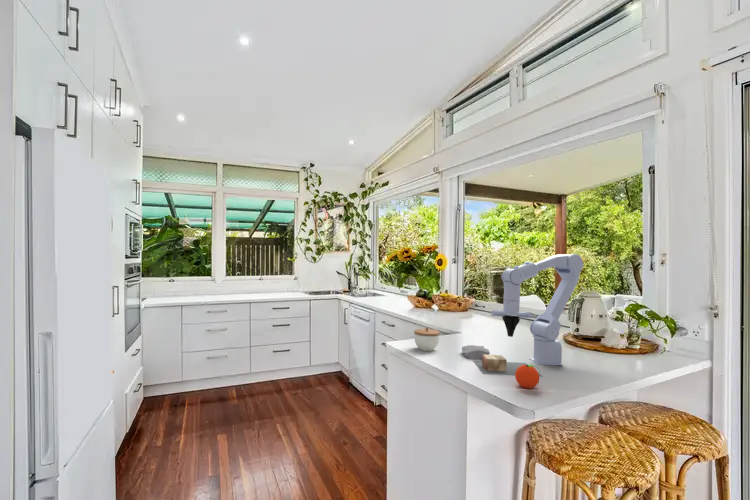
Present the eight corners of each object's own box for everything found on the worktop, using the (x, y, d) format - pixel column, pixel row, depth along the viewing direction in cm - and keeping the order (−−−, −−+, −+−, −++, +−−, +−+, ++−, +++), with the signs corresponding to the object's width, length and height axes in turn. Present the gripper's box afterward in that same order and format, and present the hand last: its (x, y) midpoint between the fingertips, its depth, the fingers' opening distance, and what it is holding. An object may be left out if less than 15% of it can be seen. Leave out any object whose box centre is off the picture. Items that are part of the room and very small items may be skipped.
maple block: (501, 355, 134) (482, 354, 134) (506, 359, 128) (486, 358, 128) (501, 366, 134) (481, 365, 134) (506, 371, 128) (486, 370, 128)
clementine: (533, 383, 117) (534, 361, 117) (547, 391, 110) (547, 367, 110) (510, 384, 115) (511, 361, 115) (522, 392, 108) (523, 368, 109)
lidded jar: (429, 345, 164) (430, 324, 164) (444, 351, 154) (444, 328, 154) (409, 347, 159) (409, 325, 159) (422, 353, 149) (423, 330, 150)
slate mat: (525, 363, 139) (525, 362, 139) (543, 377, 123) (543, 376, 123) (472, 361, 140) (472, 360, 140) (483, 374, 124) (483, 373, 124)
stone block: (467, 365, 142) (492, 360, 142) (465, 352, 142) (490, 348, 142) (460, 357, 154) (483, 353, 154) (458, 346, 154) (481, 342, 154)
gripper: (526, 300, 143) (525, 335, 142) (489, 298, 143) (488, 332, 143) (534, 302, 136) (532, 338, 135) (494, 300, 136) (493, 336, 136)
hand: (510, 336), depth 139 cm, fingers closed
